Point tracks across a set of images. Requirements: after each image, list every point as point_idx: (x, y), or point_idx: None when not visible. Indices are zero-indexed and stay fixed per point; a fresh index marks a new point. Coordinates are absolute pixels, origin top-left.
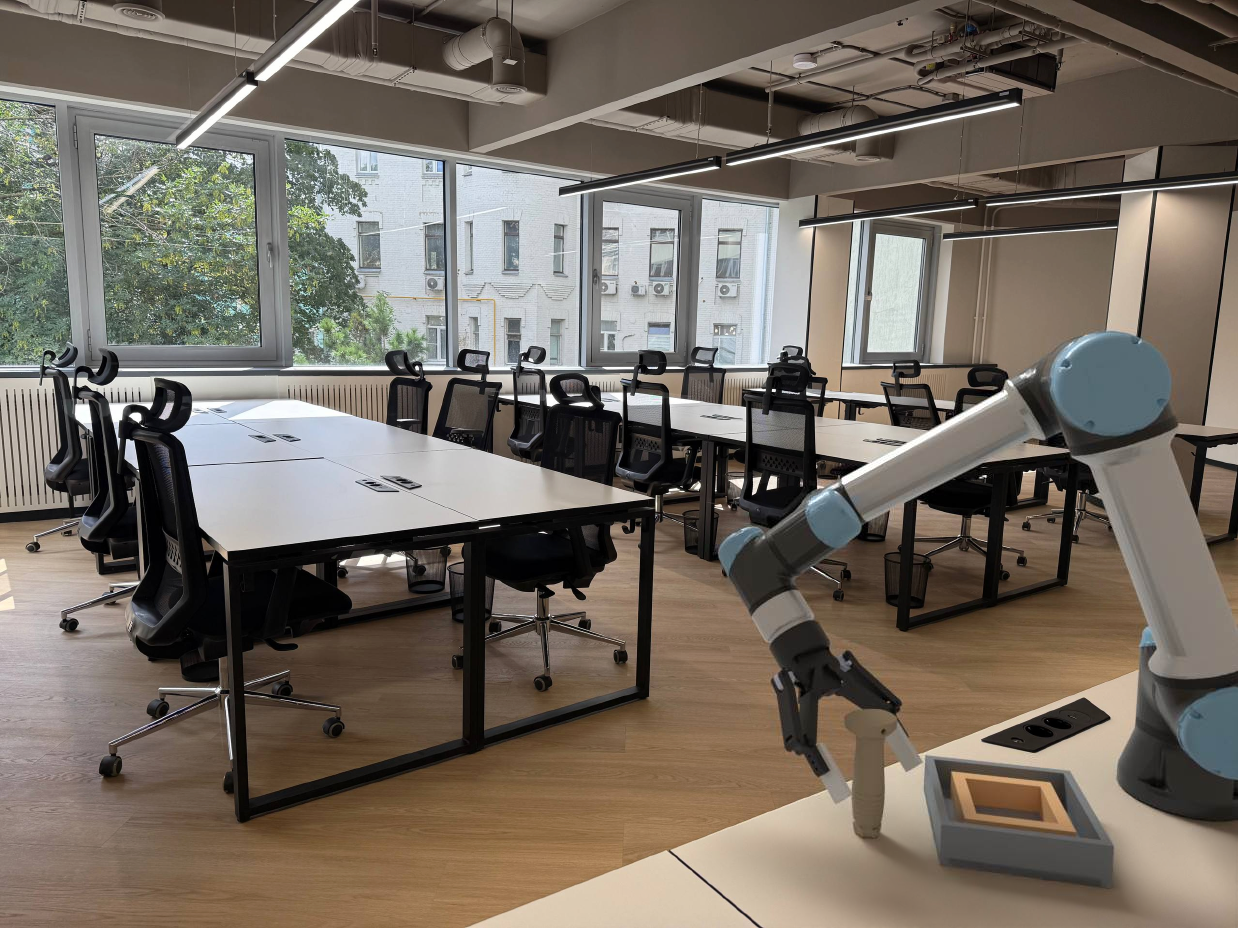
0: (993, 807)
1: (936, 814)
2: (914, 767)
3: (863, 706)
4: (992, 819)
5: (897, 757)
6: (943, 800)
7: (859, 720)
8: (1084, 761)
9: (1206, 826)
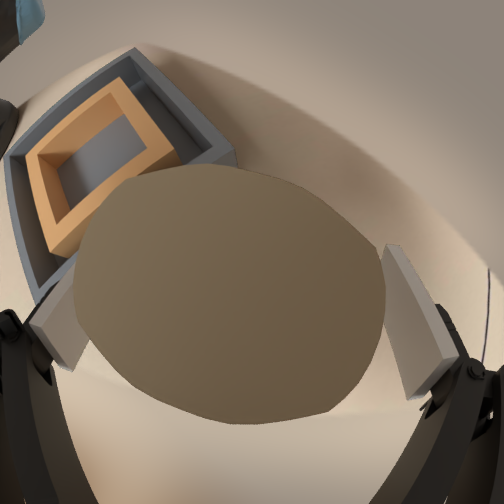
0: (70, 205)
1: None
2: None
3: (63, 430)
4: (149, 127)
5: None
6: None
7: (316, 310)
8: None
9: (25, 108)
